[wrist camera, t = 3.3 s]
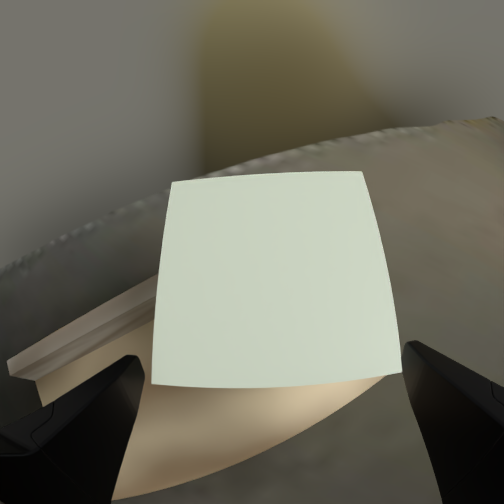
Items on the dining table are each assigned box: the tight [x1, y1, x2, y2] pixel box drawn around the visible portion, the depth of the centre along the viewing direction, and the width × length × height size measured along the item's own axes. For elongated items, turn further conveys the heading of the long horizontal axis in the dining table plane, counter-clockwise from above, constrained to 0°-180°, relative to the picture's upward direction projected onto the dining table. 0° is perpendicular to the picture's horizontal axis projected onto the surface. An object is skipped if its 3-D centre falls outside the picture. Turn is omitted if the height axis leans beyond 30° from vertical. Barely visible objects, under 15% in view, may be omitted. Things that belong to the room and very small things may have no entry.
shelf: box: [7, 273, 386, 500], centre depth 15 cm, size 12×24×4 cm, turn 119°
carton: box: [151, 171, 402, 388], centre depth 12 cm, size 6×6×11 cm
